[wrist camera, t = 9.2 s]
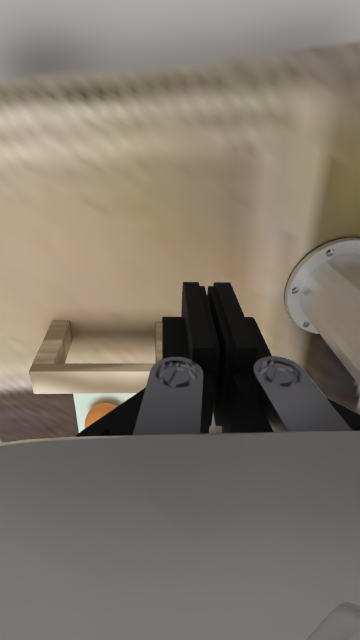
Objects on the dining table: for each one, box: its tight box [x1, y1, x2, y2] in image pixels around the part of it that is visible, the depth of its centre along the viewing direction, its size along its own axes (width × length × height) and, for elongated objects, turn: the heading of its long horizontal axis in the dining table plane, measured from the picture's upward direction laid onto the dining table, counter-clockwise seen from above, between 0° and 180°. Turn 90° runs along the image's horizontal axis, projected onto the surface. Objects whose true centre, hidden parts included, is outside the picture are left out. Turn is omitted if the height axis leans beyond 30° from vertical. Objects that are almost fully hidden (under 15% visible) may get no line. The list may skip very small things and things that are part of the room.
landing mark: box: [73, 393, 137, 433], centre depth 48 cm, size 12×12×1 cm
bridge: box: [29, 321, 162, 394], centre depth 37 cm, size 3×14×9 cm, turn 86°
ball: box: [85, 403, 117, 428], centre depth 46 cm, size 6×6×6 cm
